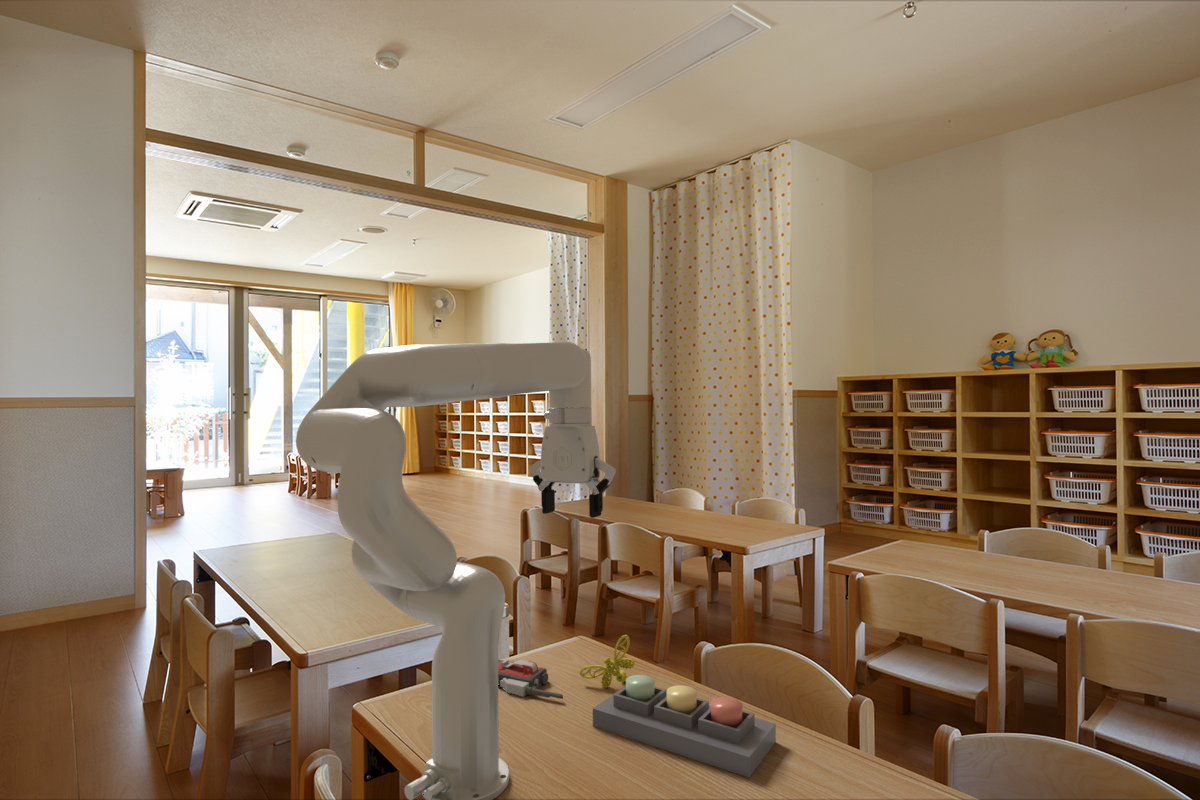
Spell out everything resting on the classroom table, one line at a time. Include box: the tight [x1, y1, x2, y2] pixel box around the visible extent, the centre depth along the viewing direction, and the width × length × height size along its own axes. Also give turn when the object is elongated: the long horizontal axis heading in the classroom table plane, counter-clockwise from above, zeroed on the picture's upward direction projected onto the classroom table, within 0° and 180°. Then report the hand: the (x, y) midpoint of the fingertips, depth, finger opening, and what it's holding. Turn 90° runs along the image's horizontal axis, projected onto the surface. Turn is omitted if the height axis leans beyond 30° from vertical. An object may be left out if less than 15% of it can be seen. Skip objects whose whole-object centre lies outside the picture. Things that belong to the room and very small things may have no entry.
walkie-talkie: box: [498, 658, 564, 700], centre depth 125 cm, size 9×4×20 cm
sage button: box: [626, 674, 656, 702], centre depth 111 cm, size 5×5×2 cm
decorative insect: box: [579, 634, 636, 689], centre depth 124 cm, size 13×3×10 cm
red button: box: [710, 696, 743, 727], centre depth 102 cm, size 5×5×2 cm
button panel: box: [592, 686, 777, 778], centre depth 106 cm, size 12×28×5 cm, turn 56°
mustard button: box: [666, 684, 698, 714], centre depth 106 cm, size 5×5×2 cm
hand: (571, 514), depth 112 cm, fingers open, 9 cm apart
